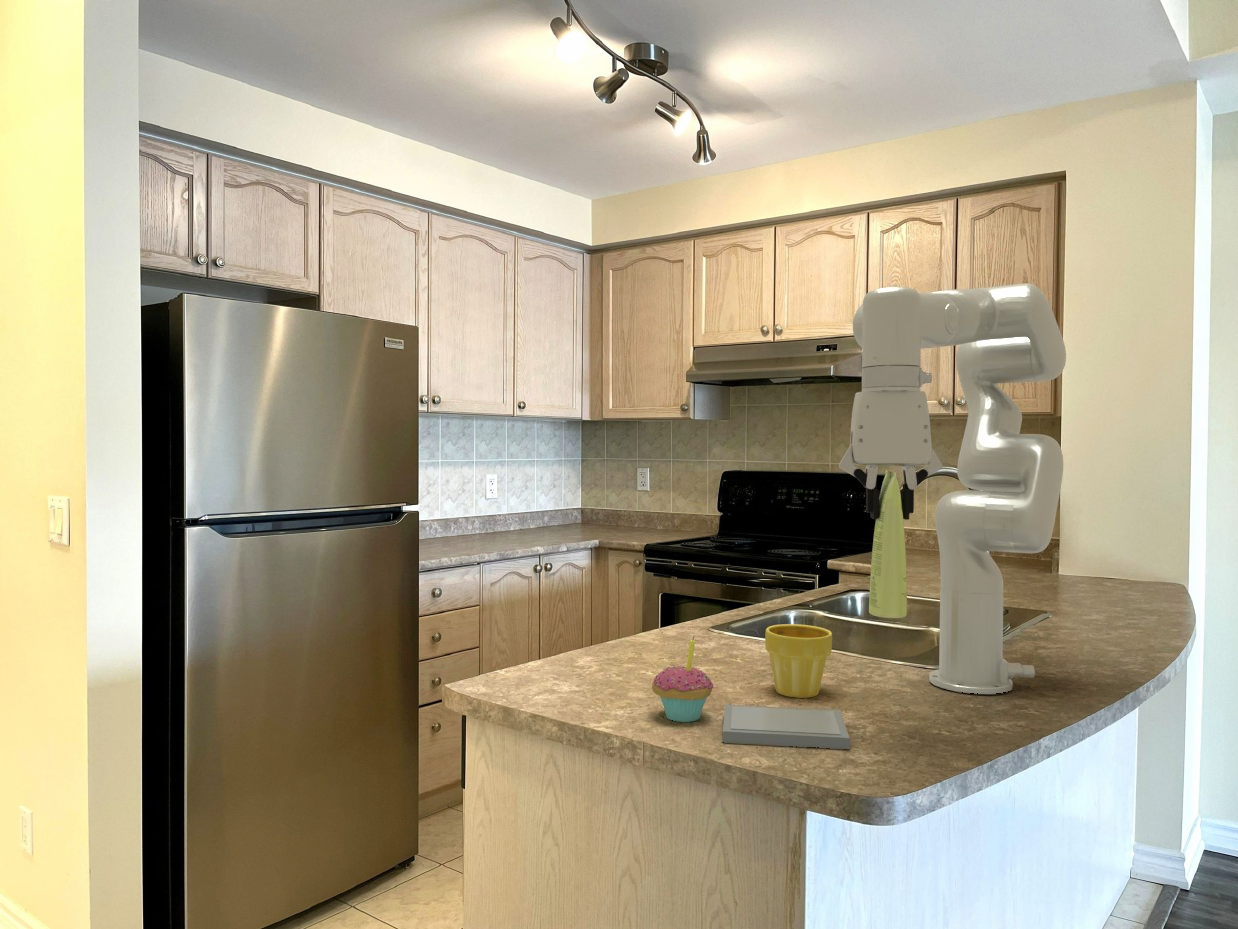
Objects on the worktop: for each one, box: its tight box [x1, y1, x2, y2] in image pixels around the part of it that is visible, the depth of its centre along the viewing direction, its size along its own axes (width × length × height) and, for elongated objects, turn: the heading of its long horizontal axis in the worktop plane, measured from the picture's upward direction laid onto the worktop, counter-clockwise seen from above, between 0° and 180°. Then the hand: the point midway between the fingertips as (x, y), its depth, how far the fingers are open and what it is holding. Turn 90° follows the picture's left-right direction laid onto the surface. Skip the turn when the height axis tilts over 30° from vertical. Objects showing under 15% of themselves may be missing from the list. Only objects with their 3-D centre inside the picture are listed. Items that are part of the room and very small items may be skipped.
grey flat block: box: [722, 704, 851, 750], centre depth 118 cm, size 16×12×2 cm
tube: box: [868, 470, 908, 619], centre depth 117 cm, size 6×5×20 cm
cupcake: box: [651, 635, 714, 723], centre depth 124 cm, size 9×8×12 cm
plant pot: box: [764, 623, 833, 699], centre depth 137 cm, size 10×10×10 cm
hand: (889, 517), depth 117 cm, fingers closed on tube, 3 cm apart
